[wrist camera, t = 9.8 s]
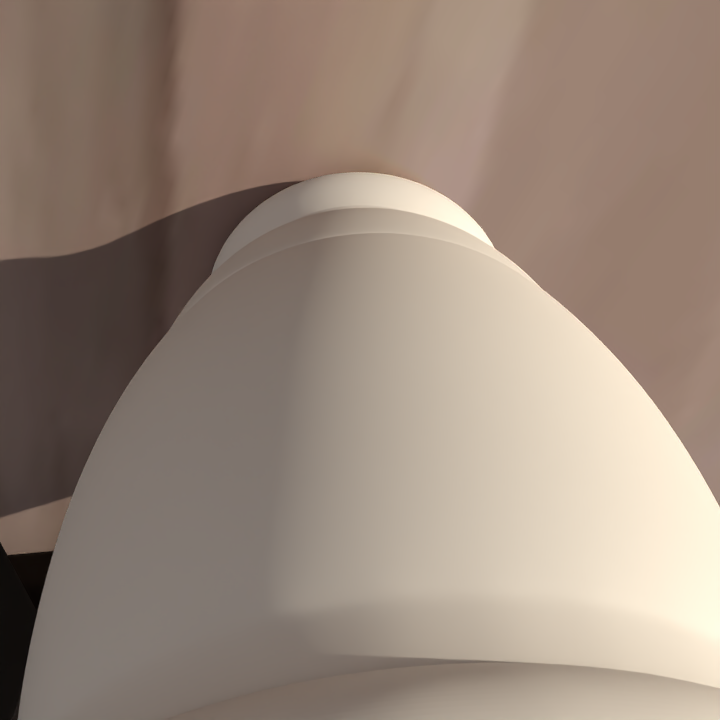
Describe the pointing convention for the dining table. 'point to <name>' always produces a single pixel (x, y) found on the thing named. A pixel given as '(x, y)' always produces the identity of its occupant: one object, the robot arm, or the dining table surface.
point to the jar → (380, 497)
